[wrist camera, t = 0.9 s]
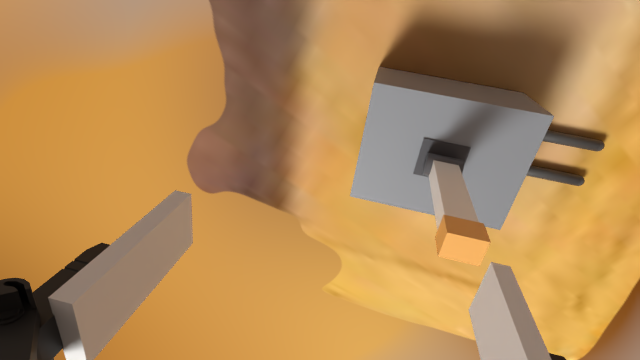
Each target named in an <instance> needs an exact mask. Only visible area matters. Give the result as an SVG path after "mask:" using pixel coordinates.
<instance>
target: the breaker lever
mask: <svg viewBox="0 0 640 360" xmlns="http://www.w3.org/2000/svg"><path fill="white" fill-rule="evenodd" d="M463 169H464V161H463V160H461V159H456V158H451V157H446V156H442V155H437V154H432V153H427V155H426V158H425V161H424V165H423V175H427V176H429V181H430V187H431V194H432V200H433V206H434V212H435V218H436V224H437V230H438V231H437V234H436V236H435V240H436V246H437V253H438V257H442V258H447V259H451V260H455V261H459V262H463V263H468V264H472V265H476V266H480V264H481V262H482V260H483V258H484V256H485V254H486V252H487V250H488V247H489V245H490V243H491V242H490V239H489V236H488V234H487V231H486V228H485V226H484V223H480V222H479V221H478V218H477V215H476V212H475V209H474V207H473V204H472V201H471V198H470V195H469V193H468V190H467V187H466V184H465V181H464V178H463V176H462V173H463Z"/></svg>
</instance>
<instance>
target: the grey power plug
mask: <svg viewBox="0 0 640 360" xmlns="http://www.w3.org/2000/svg"><path fill="white" fill-rule="evenodd" d="M553 117H554V116H553V115H552V114H551V113H549V112H548V111H547V110H545V109H544V108H543V107H541V106H540V105H539V104H537V103H536V102H535V101H533V100H532V99H531V98H529V97H528V96H527V95H526V94H524V93H522V92H516V91H511V90H505V89H500V88H494V87H489V86H483V85H478V84H472V83H467V82H461V81H456V80H450V79H445V78H439V77H434V76H428V75H423V74H417V73H412V72H406V71H401V70H395V69H390V68H384V67H379V68H378V72H377V75H376V78H375V81H374V86H373V90H372V95H371V100H370V104H369V109H368V114H367V119H366V123H365V128H364V133H363V138H362V142H361V147H360V152H359V156H358V161H357V166H356V171H355V175H354V180H353V185H352V190H351V194H350V196H351V197H355V198H360V199H364V200H369V201H373V202H378V203H382V204H387V205H391V206H396V207H400V208H405V209H409V210H413V211H418V212H422V213H427V214H431V215H435V212H434V206H433V200H432V194H431V187H430V181H429V176H427V175H423V165H424V161H425V158H426V155H427V153H432V154H437V155H442V156H446V157H451V158H456V159H461V160H463V161H464V169H463V173H462V176H463V178H464V181H465V184H466V187H467V190H468V193H469V195H470V198H471V201H472V204H473V207H474V209H475V212H476V215H477V218H478V221H479V222H480V223H484V226H485V227H489V228H494V229H498V230H500V229H501V227H502V225H503V223H504V221H505V219H506V217H507V215H508V212H509V210H510V208H511V206H512V204H513V202H514V200H515V198H516V196H517V193H518V191H519V189H520V187H521V185H522V183H523V181H524V179H525V177H526V175H527V176H532V177H537V178H542V179H546V180H551V181H556V182H561V183H566V184H571V185H576V186H580V185H582V184H583V183H584V178H583V177H582V176H580V175H576V174H571V173H566V172H561V171H556V170H551V169H546V168H541V167H536V166H531V164H532V162H533V160H534V158H535V155H536V153H537V151H538V149H539V147H540V145H541V143H542V141H546V142H551V143H556V144H562V145H567V146H572V147H577V148H582V149H587V150H592V151H600V150H602V149H603V148H604V142H603V141H601V140H596V139H591V138H586V137H581V136H576V135H570V134H565V133H560V132H555V131H549V130H548V128H549V126H550V124H551V122H552V120H553Z"/></svg>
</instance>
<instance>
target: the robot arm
mask: <svg viewBox="0 0 640 360" xmlns="http://www.w3.org/2000/svg"><path fill="white" fill-rule="evenodd" d="M192 243H193V237H192V206H191V194H189V193H184V192H179V191H174V192H173V193H172V194H170V195H169V196H168V197H167V198H166V199H164V200H163V201H162V202H161V203H160V204H158V205H157V206H156V207H155V208H154V209H153V210H151V211H150V212H149V213H148V214H147V215H145V216H144V217H143V218H142V219H141V220H140V221H138V222H137V223H136V224H135V225H134V226H132V227H131V228H130V229H129V230H128V231H127V232H125V233H124V234H123V235H122V236H121V237H119V238H118V239H117V240H116V241H115V242H114V243H112V244H111V245H109V244H104V243H100V244H98V245H96V246H94V247H92V248H90V249H87V250H86V251H84V252H83V253H82V254H81V255H79V256H78V257H77V258H76V259H75V260H74V261H72V262H71V263H69V264H68V265H67V266H65V269H62V270H60V271H59V272H58V273H57V274H55V275H54V276H53V277H52V278H50V279H49V280H48V281H47V282H45V283H44V284H43V285H42V286H40V287H39V288H38V289H36V290H35V291H34V292H33V293H32V290H31V287H30V283H29V282H27V281H26V280H24V279H20V278H9V279H3V280H0V360H54V357H55V356H56V354H57V353H58V352H59V351H60V350H61V349H62V348H63V350H64V353H65V357H66V360H93V359H94V358H95V357H96V356H97V355H98V354H99V353H100V352H101V350H102V349H103V348H104V347H105V345H106V344H107V343H108V342H109V341H110V340H111V339H112V337H113V336H114V335H115V334H116V333H117V332H118V330H119V329H120V328H121V327H122V326H123V324H124V323H125V322H126V321H127V320H128V319H129V317H130V316H131V315H132V314H133V313H134V312H135V310H136V309H137V308H138V307H139V306H140V304H141V303H142V302H143V301H144V300H145V299H146V297H147V296H148V295H149V294H150V293H151V291H152V290H153V289H154V288H155V287H156V286H157V284H158V283H159V282H160V281H161V280H162V279H163V277H164V276H165V275H166V274H167V273H168V272H169V270H170V269H171V268H172V267H173V266H174V264H175V263H176V262H177V261H178V260H179V259H180V257H181V256H182V255H183V254H184V253H185V251H186V250H187V249H188V248H189V247H190V246H191V244H192ZM469 313H470V317H471V321H472V325H473V330H474V334H475V338H476V342H477V346H478V350H479V354H480V358H481V360H566V359H565V358H564V357H562V356H558V355H554V354H550V353H548V351H547V348H546V346H545V344H544V342H543V339H542V337H541V335H540V333H539V330H538V328H537V326H536V323H535V321H534V319H533V317H532V314H531V312H530V310H529V308H528V305H527V303H526V301H525V299H524V296H523V294H522V292H521V290H520V287H519V285H518V283H517V280H516V278H515V276H514V274H513V271H512V269H511V267H510V266H506V265H501V264H497V263H493V262H491V263H490V266H489V268H488V270H487V272H486V274H485V276H484V278H483V280H482V283H481V285H480V287H479V289H478V291H477V293H476V295H475V298H474V300H473V302H472V304H471V306H470V308H469Z"/></svg>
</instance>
